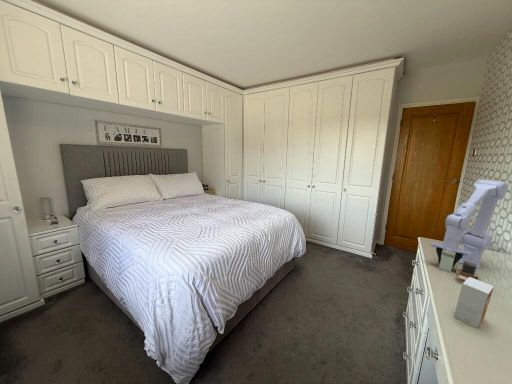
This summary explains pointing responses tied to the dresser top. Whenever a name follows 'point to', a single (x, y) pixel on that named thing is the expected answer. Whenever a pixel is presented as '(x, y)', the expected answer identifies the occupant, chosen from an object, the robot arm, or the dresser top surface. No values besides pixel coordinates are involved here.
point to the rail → (466, 272)
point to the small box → (473, 301)
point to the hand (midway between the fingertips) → (445, 264)
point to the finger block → (446, 261)
